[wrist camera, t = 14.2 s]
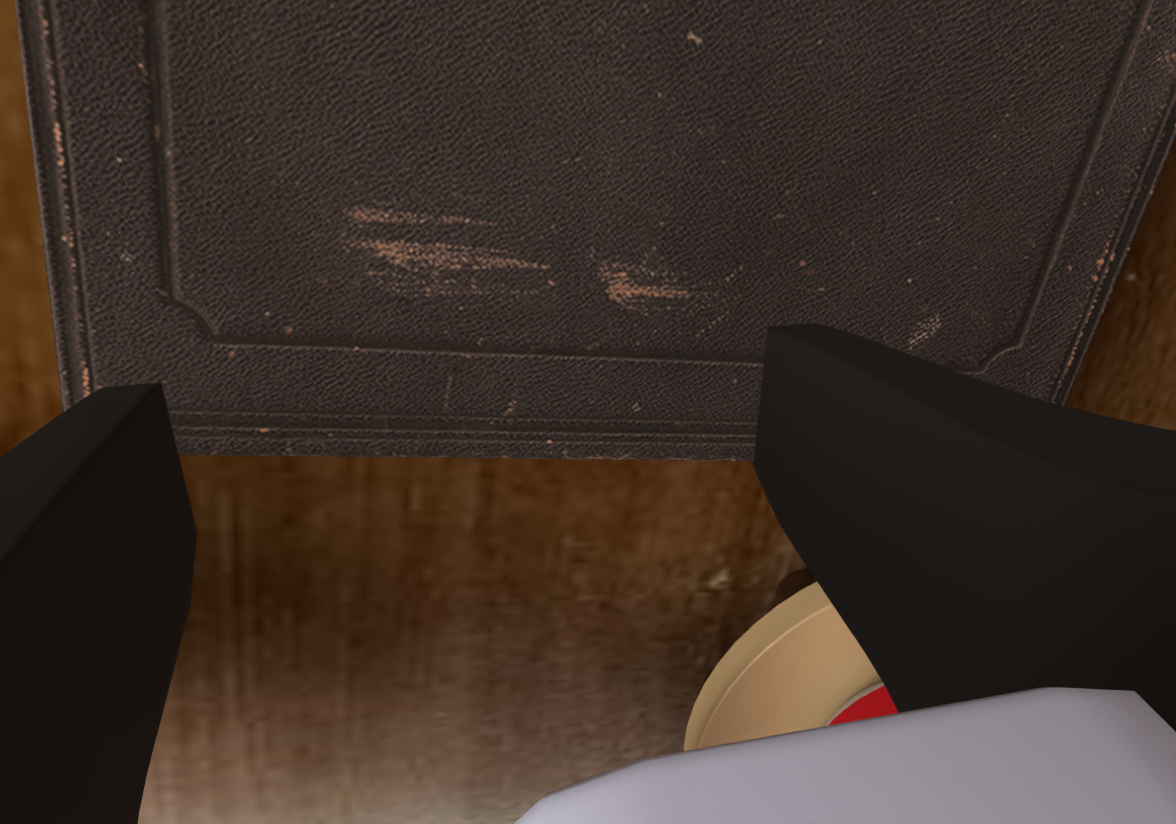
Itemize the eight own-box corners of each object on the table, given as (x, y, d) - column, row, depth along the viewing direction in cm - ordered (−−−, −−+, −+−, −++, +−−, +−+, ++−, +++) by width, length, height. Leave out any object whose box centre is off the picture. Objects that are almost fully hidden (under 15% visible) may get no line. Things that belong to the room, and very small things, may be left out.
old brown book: (991, 423, 27) (1041, 465, 25) (92, 401, 21) (66, 455, 19) (1249, -256, 20) (1348, -271, 18) (-7, -583, 14) (-65, -659, 12)
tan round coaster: (655, 825, 32) (682, 907, 30) (672, 534, 27) (707, 605, 24) (976, 763, 35) (1027, 834, 32) (1056, 484, 29) (1126, 542, 26)
